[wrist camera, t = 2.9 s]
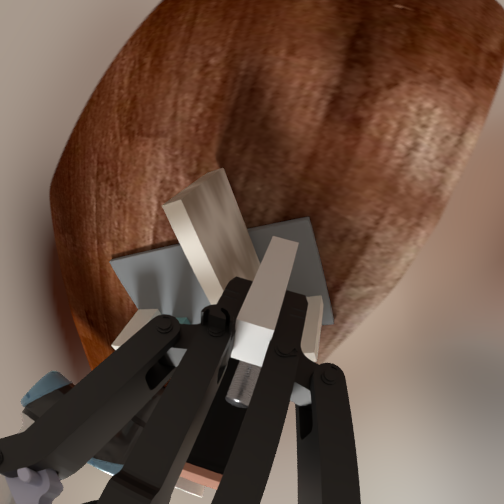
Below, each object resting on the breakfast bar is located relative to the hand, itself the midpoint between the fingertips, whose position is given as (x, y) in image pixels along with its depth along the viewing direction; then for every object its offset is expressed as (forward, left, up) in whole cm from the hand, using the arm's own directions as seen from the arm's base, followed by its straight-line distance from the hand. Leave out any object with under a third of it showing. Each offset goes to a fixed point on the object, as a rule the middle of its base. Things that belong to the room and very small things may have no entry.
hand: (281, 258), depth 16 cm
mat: (-12, -7, -8) cm, 16 cm away
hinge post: (-5, -9, -8) cm, 13 cm away
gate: (-5, -1, -7) cm, 9 cm away
